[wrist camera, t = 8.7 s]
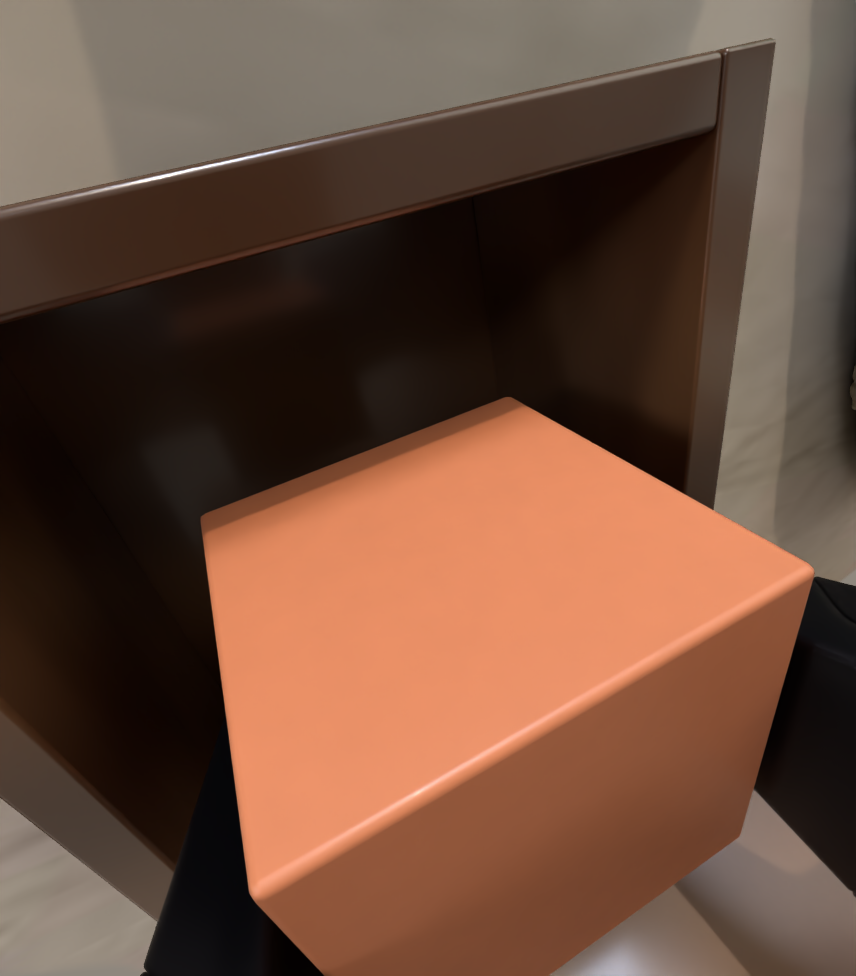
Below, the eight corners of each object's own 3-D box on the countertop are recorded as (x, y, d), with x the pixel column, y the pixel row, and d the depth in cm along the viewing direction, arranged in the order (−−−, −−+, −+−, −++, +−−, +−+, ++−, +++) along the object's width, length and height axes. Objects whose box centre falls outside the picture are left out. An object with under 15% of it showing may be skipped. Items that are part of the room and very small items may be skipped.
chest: (-111, 247, 9) (-593, 336, 3) (476, 115, 12) (778, 36, 6) (213, 711, 16) (244, 993, 11) (527, 559, 19) (687, 715, 14)
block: (534, 608, 11) (743, 836, 7) (311, 723, 10) (413, 1077, 6) (509, 393, 8) (821, 565, 4) (197, 513, 7) (246, 901, 3)
